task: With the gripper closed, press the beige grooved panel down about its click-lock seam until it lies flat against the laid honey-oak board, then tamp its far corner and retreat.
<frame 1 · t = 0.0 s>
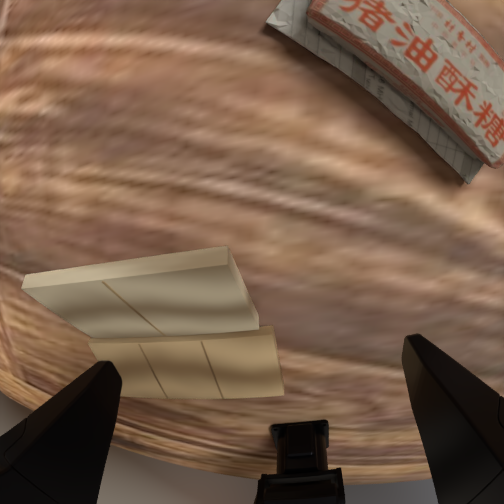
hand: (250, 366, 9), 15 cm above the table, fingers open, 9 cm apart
beige grooved panel: (139, 305, 23), point 3 cm above the table, hinge at 30.0°
packaged product: (413, 51, 17), on the table
laid board: (185, 364, 29), on the table
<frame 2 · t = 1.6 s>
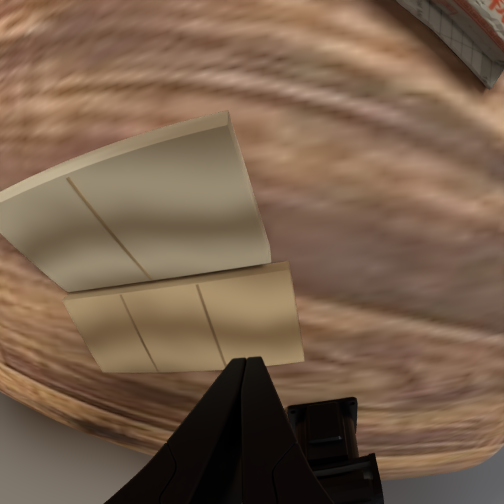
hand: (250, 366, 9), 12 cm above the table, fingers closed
beige grooved panel: (116, 228, 17), point 3 cm above the table, hinge at 30.0°
laid board: (178, 324, 24), on the table
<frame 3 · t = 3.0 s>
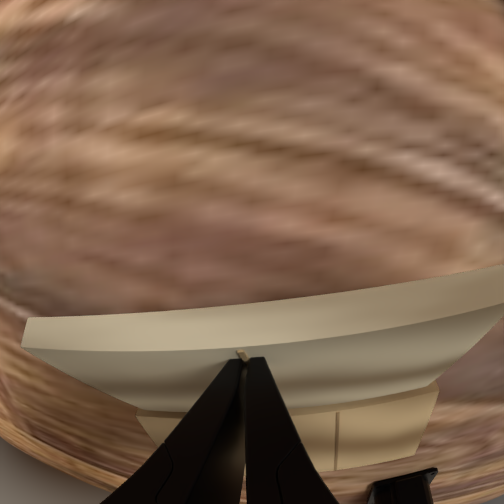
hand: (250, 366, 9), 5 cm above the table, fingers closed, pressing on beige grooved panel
beige grooved panel: (267, 376, 12), point 3 cm above the table, hinge at 27.6°, touching gripper
laid board: (289, 435, 19), on the table
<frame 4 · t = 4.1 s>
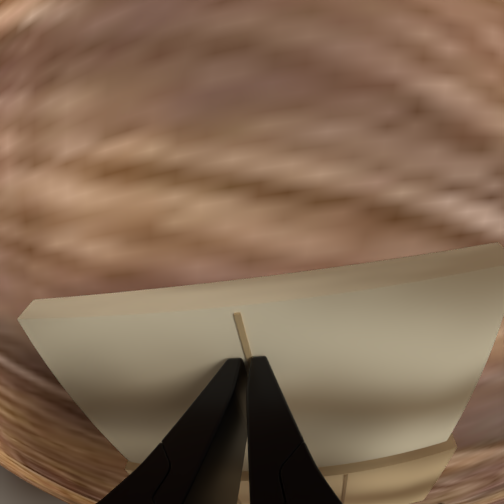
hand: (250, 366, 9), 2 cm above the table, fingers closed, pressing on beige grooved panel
beige grooved panel: (267, 404, 11), point 1 cm above the table, hinge at 4.0°, touching gripper
laid board: (292, 488, 16), on the table
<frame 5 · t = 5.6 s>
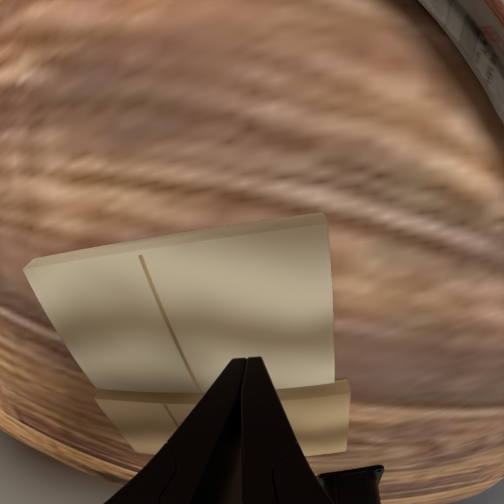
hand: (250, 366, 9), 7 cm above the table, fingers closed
beige grooved panel: (175, 327, 16), point 1 cm above the table, hinge at 3.0°
laid board: (223, 422, 22), on the table
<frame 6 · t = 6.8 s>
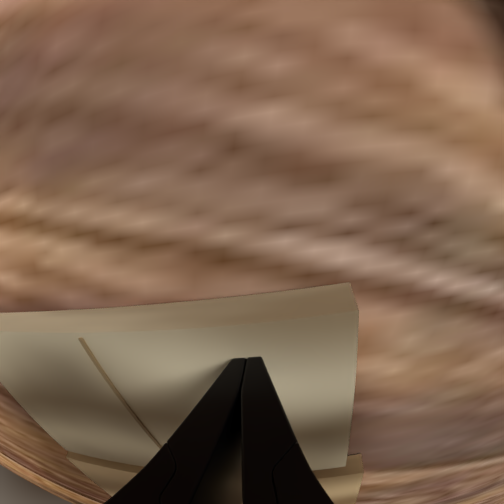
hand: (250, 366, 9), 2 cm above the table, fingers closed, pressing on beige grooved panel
beige grooved panel: (144, 412, 11), point 1 cm above the table, hinge at 3.0°, touching gripper
laid board: (213, 487, 17), on the table
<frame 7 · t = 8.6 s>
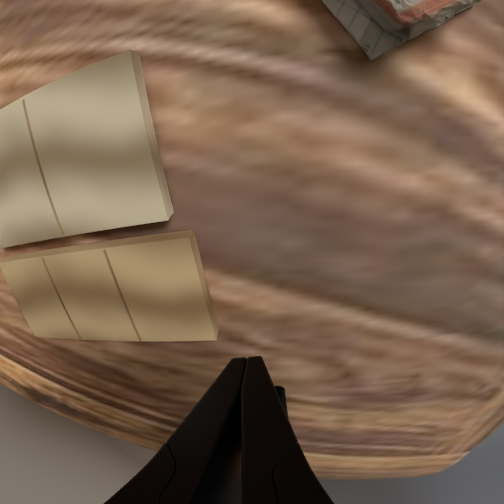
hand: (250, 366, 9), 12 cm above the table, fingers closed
beige grooved panel: (45, 165, 17), point 1 cm above the table, hinge at 2.9°
laid board: (96, 291, 23), on the table
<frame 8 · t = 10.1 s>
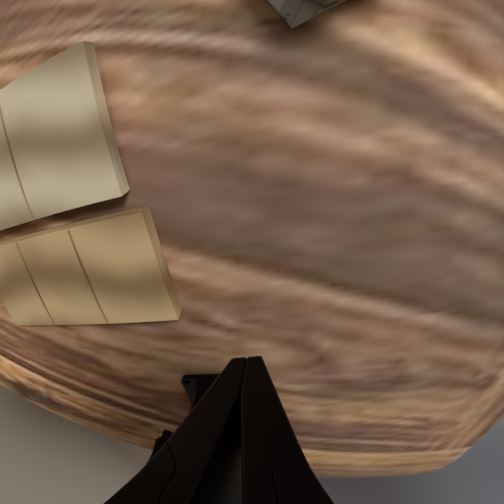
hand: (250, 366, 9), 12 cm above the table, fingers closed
beige grooved panel: (17, 153, 17), point 1 cm above the table, hinge at 2.9°
laid board: (66, 275, 23), on the table
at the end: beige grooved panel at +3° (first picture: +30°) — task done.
